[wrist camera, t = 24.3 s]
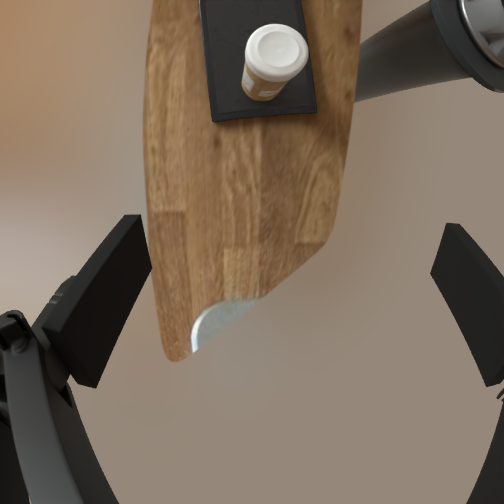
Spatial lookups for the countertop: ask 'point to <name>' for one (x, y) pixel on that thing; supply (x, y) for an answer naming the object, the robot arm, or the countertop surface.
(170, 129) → the countertop surface
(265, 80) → the sprinkles bottle
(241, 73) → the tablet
